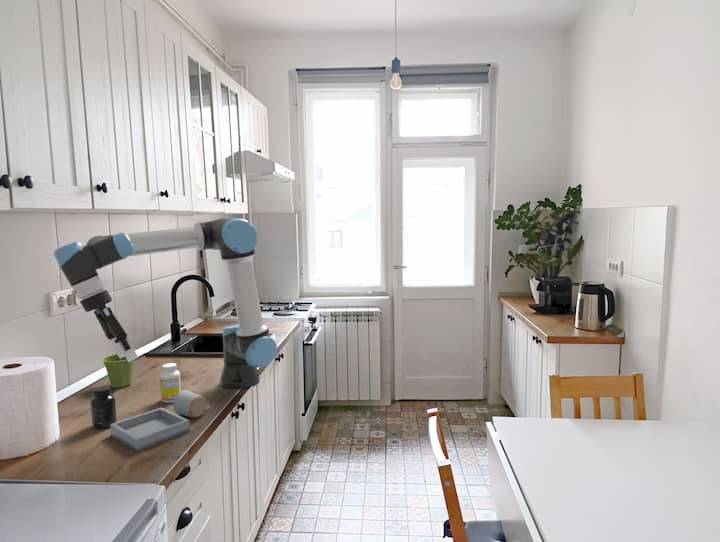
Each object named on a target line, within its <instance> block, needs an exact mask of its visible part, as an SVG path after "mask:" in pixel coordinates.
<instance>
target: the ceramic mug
mask: <svg viewBox="0 0 720 542" xmlns="http://www.w3.org/2000/svg"><path fill="white" fill-rule="evenodd" d="M172 403H173V405H172V407H173V410H174V411H173V412H174V413H175V414H177V415H180V416H181V415H182V416H185V417H189V418H193V419H194V418H199V417H201V415H203V414H204V413H205V411H209V409H210V404H207V401H206V399H205V397H203V396H202V395H200V394H198V393H195V392H192V391H190V390H188V389H187V390H181V392H180V393H178V395H177V396H176V397H175V399H174V402H172Z"/></svg>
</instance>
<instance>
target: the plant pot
mask: <svg viewBox="0 0 720 542" xmlns="http://www.w3.org/2000/svg"><path fill="white" fill-rule="evenodd" d="M101 361H102V362H103V364H104V367H105V369H106V373H107V374H106V375H107V376H108V379H109V385H110V387H111V388H114V389H119V388H120V387H122V388H125V386H126V387H127V386H130V385H132V381H133V373H134V363H135V359H134V360H133V361H131V362H128V361H127V359H126V357H123V358H121V359H120V358H119V356H118V355H117V353H116V354H112V355H111V354H110V355H106V356H104V357H102V358H101ZM120 389H121V388H120Z"/></svg>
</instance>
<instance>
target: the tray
mask: <svg viewBox="0 0 720 542" xmlns="http://www.w3.org/2000/svg"><path fill="white" fill-rule="evenodd" d="M109 429H110V436H111V437H112V438H114V439H115V440H117V441H119V442H121V443H122V442H123V443H122V444H123V445H126V446H127V447H129V448H130V449H131V450H133V451H135V452H140V451H142V450H145V449H148V448H150V447H153V446H155V445H158V444H160V443H164V442H166V441H168V439H169V440H171V439H173V438H176V437H179V436H181V434H182V435H184V434H186V432H187V433H189V432H190V430H191V429H190V420H189V419H188V418H185V417H182V416H181V415H180V414H178V413H176V412H173V411H170V410H168V409H166V408H163V407H159V408H157V409H156V408H155V409H153V410H150V411H146V412H144V413H141V414H137V415H134V416H132V417H127V418H125V419H121V420H119V421H117V422H116V423H113V424H110V428H109ZM183 433H184V434H183Z"/></svg>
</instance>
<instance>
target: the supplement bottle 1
mask: <svg viewBox="0 0 720 542" xmlns="http://www.w3.org/2000/svg"><path fill="white" fill-rule="evenodd" d="M92 396H93V397H92V398H91V399H90V403H89V404H90V416H91V426H92V428H93V429H95V430H106V429H111V428H110V424H113V423H116V422H118V420H117V419H118V418H117V405H116V404H117V403H116V396H115V395H114V394H112V387H111V385H110V386H109V385H101V386H97V387H95V388H93V390H92Z"/></svg>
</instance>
